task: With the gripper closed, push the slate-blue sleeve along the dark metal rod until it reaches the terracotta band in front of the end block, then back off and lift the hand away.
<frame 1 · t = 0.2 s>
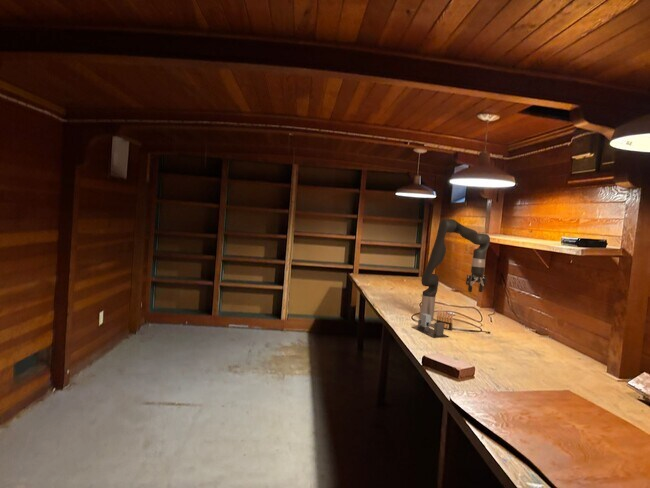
hand: (475, 291, 248), 29 cm above the table, tool pointing down, fingers open, 8 cm apart
dark grey mounting base: (429, 332, 255), on the table
ammunition clip: (443, 329, 267), on the table
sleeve: (425, 320, 259), point 6 cm above the table, slide at 0.0 cm
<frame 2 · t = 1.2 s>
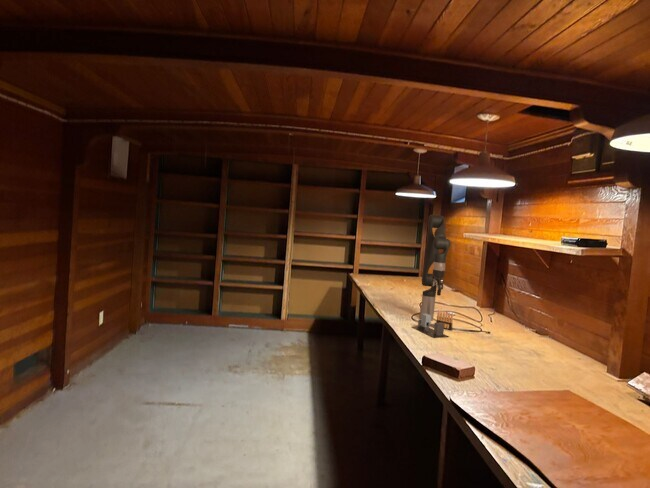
hand: (436, 294, 261), 24 cm above the table, tool pointing down, fingers open, 8 cm apart
nothing on the table moved.
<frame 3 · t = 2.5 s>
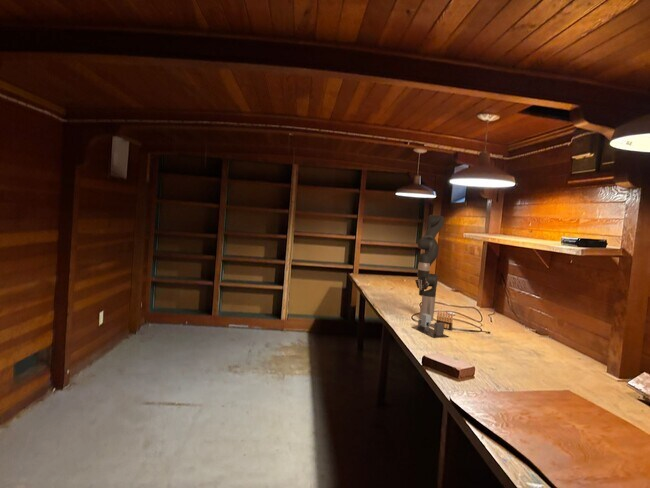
hand: (421, 295, 265), 21 cm above the table, tool pointing down, fingers closed
nothing on the table moved.
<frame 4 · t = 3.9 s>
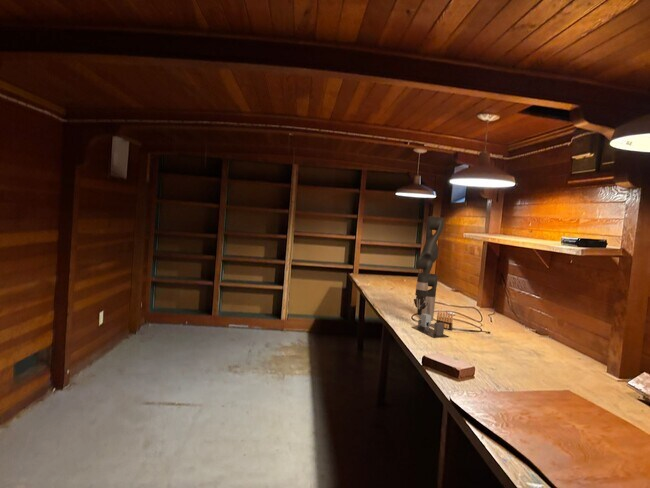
hand: (419, 314, 266), 8 cm above the table, tool pointing down, fingers closed
nothing on the table moved.
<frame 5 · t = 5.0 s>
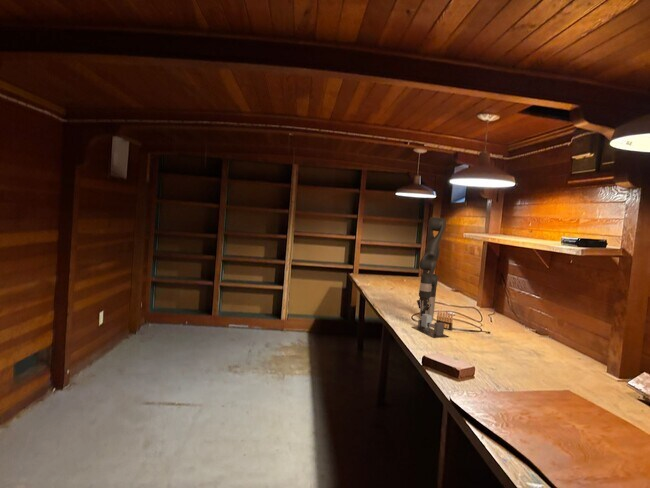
hand: (422, 316, 262), 8 cm above the table, tool pointing down, fingers closed
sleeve: (426, 320, 259), point 6 cm above the table, slide at 0.8 cm, touching gripper
everything else where it was.
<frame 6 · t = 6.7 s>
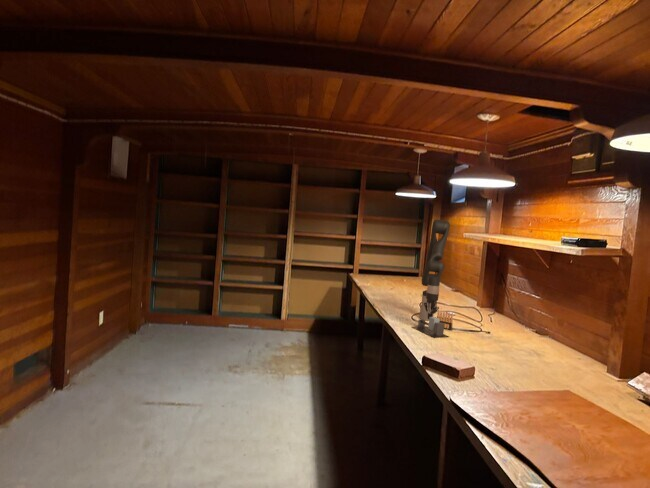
hand: (429, 319, 255), 8 cm above the table, tool pointing down, fingers closed
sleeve: (433, 323, 252), point 6 cm above the table, slide at 8.4 cm, touching gripper
everything else where it was.
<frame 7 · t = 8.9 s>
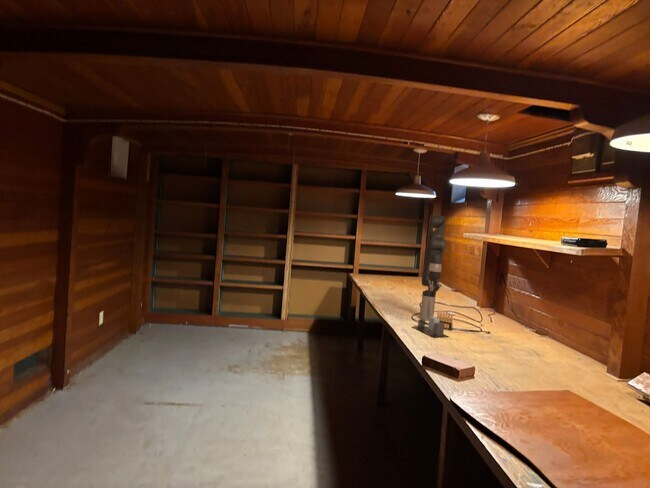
hand: (432, 297, 258), 22 cm above the table, tool pointing down, fingers closed
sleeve: (433, 323, 252), point 6 cm above the table, slide at 8.3 cm
everything else where it was.
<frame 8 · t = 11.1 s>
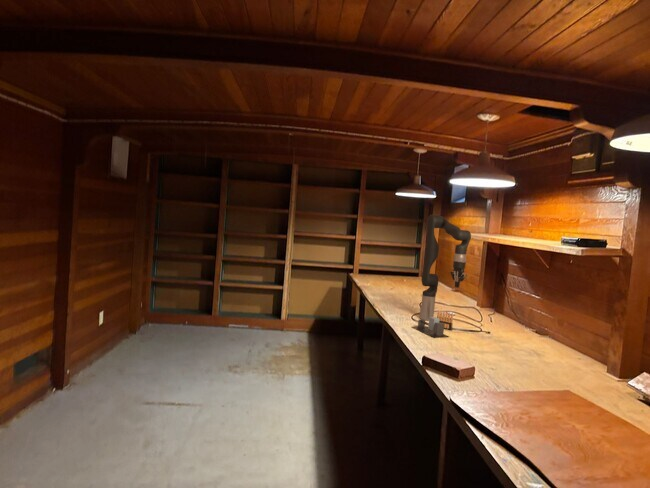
hand: (456, 287, 260), 29 cm above the table, tool pointing down, fingers closed
nothing on the table moved.
at the end: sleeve slide at 8.3 cm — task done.
